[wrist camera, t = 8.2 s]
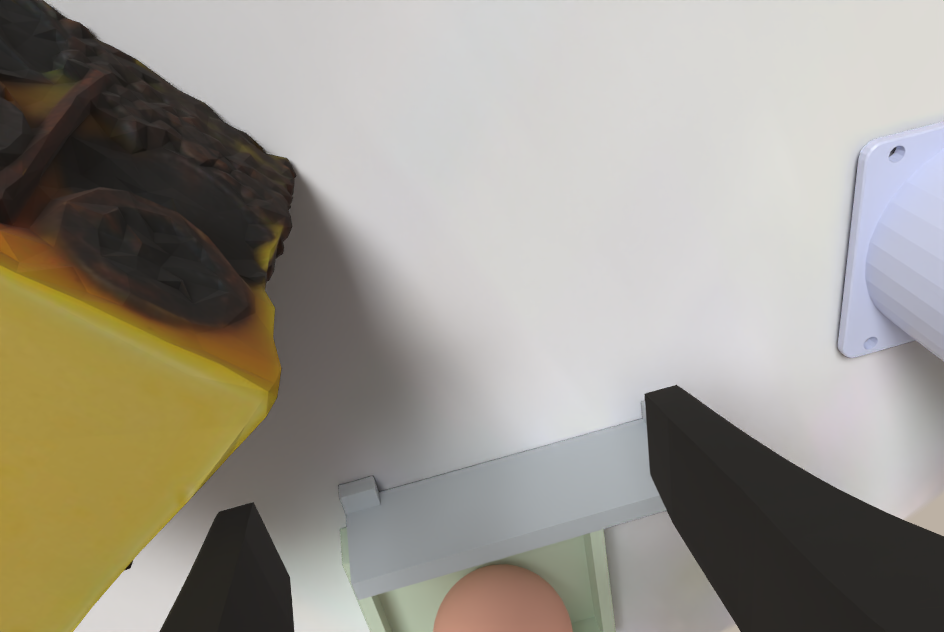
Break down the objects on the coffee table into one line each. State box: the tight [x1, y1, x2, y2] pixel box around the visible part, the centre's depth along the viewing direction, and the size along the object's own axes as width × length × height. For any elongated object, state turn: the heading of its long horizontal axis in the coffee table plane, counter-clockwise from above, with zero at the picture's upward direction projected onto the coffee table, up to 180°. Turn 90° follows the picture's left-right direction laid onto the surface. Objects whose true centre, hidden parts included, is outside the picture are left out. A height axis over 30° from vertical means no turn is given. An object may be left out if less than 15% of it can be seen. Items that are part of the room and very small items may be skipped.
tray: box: [340, 527, 616, 632], centre depth 28 cm, size 9×9×2 cm
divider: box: [338, 400, 667, 600], centre depth 25 cm, size 12×2×4 cm, turn 100°
